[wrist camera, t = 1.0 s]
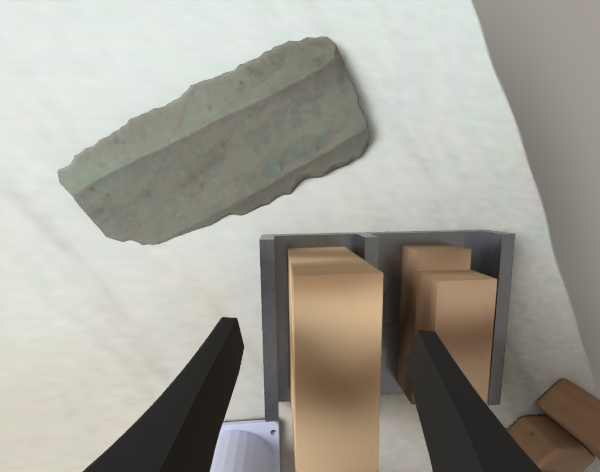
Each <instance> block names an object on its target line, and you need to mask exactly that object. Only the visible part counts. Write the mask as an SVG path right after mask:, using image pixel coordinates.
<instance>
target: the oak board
mask: <svg viewBox="0 0 600 472" xmlns="http://www.w3.org/2000/svg"><path fill="white" fill-rule="evenodd" d="M288 296H289V351H290V395H291V410H292V425H293V440H294V455H295V470H296V472H378V450H379V414H380V377H381V341H382V305H383V272H381V271H380V270H378V269H377V268H375V267H374V266H372V265H371V264H369V263H368V262H366V261H365V260H363V259H362V258H360V257H359V256H357V255H356V254H355V253H353V252H352V251H350V250H349V249H347V248H346V247H315V248H288Z"/></svg>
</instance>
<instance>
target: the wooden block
mask: <svg viewBox="0 0 600 472" xmlns="http://www.w3.org/2000/svg"><path fill="white" fill-rule="evenodd" d="M537 404H538V405H539V407H540V408H541V409H542V410H543V411H544V412H545V413H546V414H547V415H548V416H549V417H548V416H546V415H540V416H524V417H521V418H519V419H518V420H517V421H516V422H515V423H514V424H513V425H512V426H511V427H510V428H509V429H508V430H507V431H508V432H509V434H510V435H511V436H512V437H513V438H514V440H515V441H516V442H517V443H518V444H519V446H520V447H521V448H522V449H523V450H524V451H525V452H526V454H527V455H528V456H529V457H530V458H531V459H532V461H533V462H534V463H535V464H536V465H537V466H538V467H539V468H540V469H541V471H542V472H582V471H584V470H585V469H586V468H587V467H588V466H589V465H590V464H591V463H592V462H593V461H594V460H595V456H596V457H597V458H599V459H600V400H599V399H597V398H596V397H594V396H592V395H591V394H589V393H587V392H586V391H584V390H583V389H581V388H579V387H578V386H576V385H574V384H573V383H571V382H570V381H568V380H566V379H560V380H559V381H558V382H557V383H556V384H555V385H554V386H553V387H552V388H551V389H550V390H548V391H547V392H546V393H545V394H544V395H543V396H542V397H541V398H540V399H539V400H538V401H537ZM593 454H594V455H595V456H594V455H593Z"/></svg>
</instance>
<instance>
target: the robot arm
mask: <svg viewBox="0 0 600 472" xmlns="http://www.w3.org/2000/svg"><path fill="white" fill-rule="evenodd" d="M243 350H244V344H243V340H242V336H241V332H240V328H239V324H238V320H237V318H228V317H222V318H221V319H220V321H219V322H218V323H217V325H216V326H215V328H214V329H213V331H212V332H211V333H210V335H209V336H208V338H207V339H206V340H205V342H204V343H203V344H202V346H201V347H200V348H199V350H198V351H197V352H196V354H195V355H194V356H193V357H192V359H191V360H190V361H189V363H188V364H187V365H186V366H185V368H184V369H183V370H182V371H181V373H180V374H179V375H178V376H177V377H176V378H175V380H174V381H173V382H172V383H171V384H170V385H169V387H168V388H167V389H166V390H165V391H164V392H163V394H162V395H161V396H160V397H159V398H158V399H157V400H156V401H155V402H154V403H153V405H152V406H151V407H150V408H149V409H148V410H147V411H146V412H145V413H144V414H143V415H142V416H141V417H140V418H139V419H138V420H137V421H136V422H135V423H134V424H133V425H132V426H131V427H130V428H129V429H128V430H127V431H126V432H125V433H124V434H123V435H122V436H121V437H120V438H119V439H118V440H117V441H116V442H115V443H114V444H113V445H112V446H111V447H109V448H108V449H107V450H106V451H105V452H104V453H103V454H102V455H101V456H100V457H98V458H97V459H96V460H95V461H94V462H93V463H92V464H91V465H89V466H88V467H87V468H86V469H85V470H84V471H83V472H280V442H279V422H278V421H271V422H265V419H264V420H250V421H237V422H224V423H223V421H224V418H225V414H226V411H227V408H228V405H229V402H230V399H231V396H232V393H233V390H234V386H235V383H236V380H237V377H238V374H239V370H240V365H241V360H242V355H243ZM407 362H408V369H409V376H410V382H411V387H412V391H413V395H414V399H415V403H416V407H417V411H418V414H419V418H420V422H421V426H422V429H423V433H424V437H425V441H426V444H427V448H428V452H429V456H430V460H431V465H432V469H433V472H542V471H541V469H540V468H539V467H538V466H537V465H536V464H535V463H534V462H533V461H532V459H531V458H530V457H529V456H528V455H527V454H526V452H525V451H524V450H523V449H522V448H521V447H520V446H519V444H518V443H517V442H516V441H515V440H514V438H513V437H512V436H511V435H510V434H509V432H508V431H507V430H506V429H505V428H504V426H503V425H502V424H501V423H500V421H499V420H498V419H497V418H496V416H495V415H494V414H493V412H492V411H491V410H490V409H489V407H488V406H487V405H486V403H485V402H484V401H483V399H482V398H481V397H480V395H479V394H478V393H477V391H476V390H475V389H474V387H473V386H472V385H471V383H470V382H469V380H468V379H467V378H466V376H465V375H464V373H463V372H462V371H461V369H460V368H459V366H458V365H457V363H456V362H455V360H454V359H453V357H452V356H451V354H450V353H449V351H448V350H447V348H446V347H445V345H444V344H443V342H442V341H441V339H440V338H439V336H438V335H437V333H436V332H435V331H424V330H418V332H417V335H416V337H415V340H414V342H413V345H412V348H411V350H410V353H409V356H408V358H407ZM271 430H275V431H274V432H273V431H271Z"/></svg>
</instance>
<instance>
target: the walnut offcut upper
mask: <svg viewBox="0 0 600 472" xmlns="http://www.w3.org/2000/svg"><path fill="white" fill-rule="evenodd" d="M496 290H497V279H495V278H493V277H490V276H487V275H484V274H481V273H479V272H476V271H473V270H441V271H418V273H417V296H416V318H415V337H416V335H417V332H418V330H424V331H435V332H436V333H437V335H438V336H439V338H440V339H441V341H442V342H443V344H444V345H445V347H446V348H447V350H448V351H449V353H450V354H451V356H452V357H453V359H454V360H455V362H456V363H457V365H458V366H459V368H460V369H461V371H462V372H463V373H464V375H465V376H466V378H467V379H468V380H469V382H470V383H471V385H472V386H473V387H474V389H475V390H476V391H477V393H478V394H479V395H480V397H481V398H482V399H483V401H484V402H485V403H486V405H487V399H488V387H489V375H490V362H491V350H492V338H493V326H494V314H495V302H496Z"/></svg>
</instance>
